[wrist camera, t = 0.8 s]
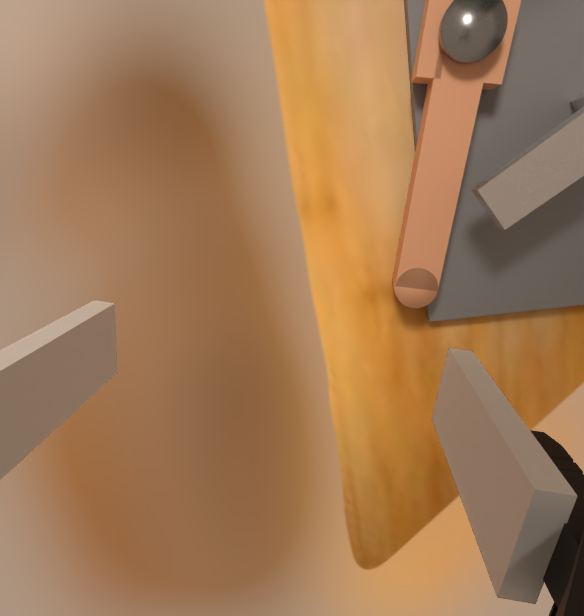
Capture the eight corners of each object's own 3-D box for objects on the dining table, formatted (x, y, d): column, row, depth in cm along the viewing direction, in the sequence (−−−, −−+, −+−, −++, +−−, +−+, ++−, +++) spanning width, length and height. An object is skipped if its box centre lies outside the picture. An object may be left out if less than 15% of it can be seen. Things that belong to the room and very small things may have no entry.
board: (399, -66, 27) (401, -76, 26) (642, -127, 25) (657, -141, 24) (426, 316, 35) (429, 321, 34) (615, 295, 33) (625, 300, 31)
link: (426, -10, 27) (433, -24, 25) (511, -4, 26) (525, -17, 24) (374, 295, 33) (376, 303, 31) (442, 304, 33) (448, 312, 31)
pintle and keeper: (435, 7, 27) (456, -28, 22) (664, 25, 26) (739, -8, 21) (399, 211, 31) (410, 219, 26) (596, 233, 30) (645, 245, 25)
